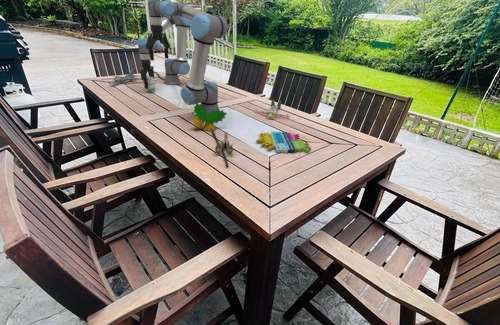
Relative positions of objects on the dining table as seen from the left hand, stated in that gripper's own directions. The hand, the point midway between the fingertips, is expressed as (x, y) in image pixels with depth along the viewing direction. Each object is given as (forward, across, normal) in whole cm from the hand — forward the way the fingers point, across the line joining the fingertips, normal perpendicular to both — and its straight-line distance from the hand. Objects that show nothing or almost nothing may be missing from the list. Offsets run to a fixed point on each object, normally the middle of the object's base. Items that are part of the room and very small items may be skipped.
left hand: (149, 87), depth 226 cm
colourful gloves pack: (+4, -31, -136) cm, 140 cm away
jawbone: (+3, -59, -115) cm, 129 cm away
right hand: (-30, -21, -37) cm, 52 cm away
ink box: (+3, 0, 0) cm, 3 cm away
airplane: (+4, +11, +44) cm, 46 cm away
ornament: (+4, -38, -90) cm, 98 cm away
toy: (+5, +16, -111) cm, 112 cm away
